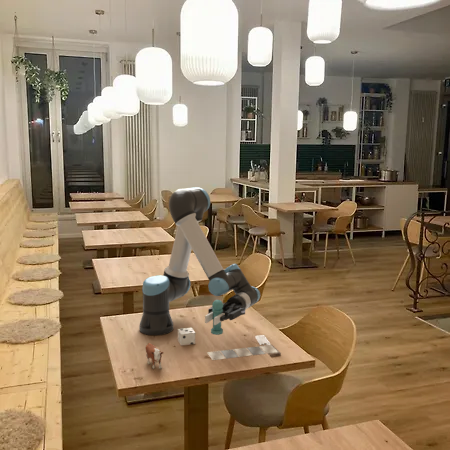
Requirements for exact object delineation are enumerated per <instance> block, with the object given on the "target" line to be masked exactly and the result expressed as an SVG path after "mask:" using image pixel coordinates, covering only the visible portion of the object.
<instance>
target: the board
mask: <svg viewBox="0 0 450 450" xmlns="http://www.w3.org/2000/svg"><path fill="white" fill-rule="evenodd" d="M206 353H207V355H208V356H209V357H210V360H212V361H218V360H225V359H227V360H228V359H234V358H243V357H251V356H258V355H266V354H267V355H269V357H271V358H272V357H279V356H282V355H281V353H282V352H280V351H279V350H278V349H277V348H276V347H275V345H273V344H271V345H266V344H264V345H259V346H258V345H257V346H251V347H250V346H249V347H242V348H232V349H224V350H216V351H215V350H214V351H208V352H206Z"/></svg>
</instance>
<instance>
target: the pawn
mask: <svg viewBox="0 0 450 450" xmlns="http://www.w3.org/2000/svg"><path fill="white" fill-rule="evenodd" d="M223 303H224V302H223V301H222V300H221V299H215V300H213V302H212V305H211V307H213V309H212V311H213V320H212V327H211V329H210V333H211V334H212V335H216V336H217V335H218V336H219V335H220V336H221V335H222V334H223V333H224V329H223V328H222V321H221V322H220V323H218V324H217V325H214V318H215V317H216V316H218V315H220V314H221V313H222V312H223V309H222V308H223Z"/></svg>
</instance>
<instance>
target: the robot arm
mask: <svg viewBox="0 0 450 450" xmlns="http://www.w3.org/2000/svg"><path fill="white" fill-rule="evenodd" d="M210 205H211V198H210V195H209V193H208V192H207V191H206V190H205V189H204V188H201V187H195V186H192V187H187V188H178V189H176V190H175V191H173V192H172V193H171V195H170V197H169V200H168V211H169V213H170V216H171V218H172V221H173V223H174V224H175V226H177V228H176V233H175V237H174V241H173V244H172V249H171V254H170V259H169V263H168V266H166V267H164V270H163V275H160V274H159V275H152V276H149V277H147V278H145V279H144V281H143V282H142V315H141V318H140V323H139V326H138V327H139V331H140V333H142V334H144V335H148V336H162V335H165V334H168V333H171V332H173V330H174V321H173V318H172V316H171V313H170V302H173V301H175V300H177V299H179V298H182V297H184V296H185V295H186V294H188V292H189V291H190V290H191V289H190V288H191V280H190V274H189V272H188V270H187V269H188V266H189V261H190V257H191V253H192V251H193V253H194V255H195V257H196V259H197V260H198V262H199V264H200V267H201V268H202V270H203V271H204V274H205V276H206V277H207V279H208V281H209V282H208V286H207V287H208V291H209V293H210V294H211V295H212V296H215V297H221V296H222V295H226V294H227V293H229V292H230V291H233V292H234V295H232V296H230V297H229V298H228V299H227V300H226V302H222V303H223V308H222V309H223V312H222V313H221V314H220V315H218V316H216V317H215V318H214V325H217V324H218V323H220V322H221V323H222V322H224V321H227V320H229V321H233V320H235V319H237V318H239V317H241V316H243V315H244V316H245V315H246V310H247V309H248V308H251V307H252V306H254V305H255V304H257V302H259V300H260V299H261V292H260V290H259V289H258V288H257V287H255V286H252V285H251V284H250V282H249V281H248V279H247V278H246V275H244V272H243V271H242V269H241V268H240V267H239V265H238V264H237V263H232V264H231V265H229V266H228V267H226V268H224V267H223V266H222V264H221V262H220V260H219V258H218V257H217V255H216V252H215V251H214V249H213V248H212V246H211V243H210V242H209V241H208V238H207V237H206V234H205V232H204V231H203V230H202V227H201V226H200V224H199V223H200V222H201V221H203V217H204V213H205V212H207V211H208V209H210ZM212 309H213V307H212V306H211V307H210V308H208V310H207V312H208V313H207V314H206V315H205V316H204V323H205V324H207V323H210V322H211V321H213V311H212Z"/></svg>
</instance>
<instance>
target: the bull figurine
mask: <svg viewBox="0 0 450 450" xmlns="http://www.w3.org/2000/svg"><path fill="white" fill-rule="evenodd" d="M145 353H146V354H145V355H146V359H147V365H151V362H152V370H155V368H156V367H155V364H159V365H158V369H159V370H162V369H163V367H162V355H164V351H161V350H160V349H159V348H158V347H156V345H154V344H152V343H150V342H148V343H147V345H145ZM150 359H151V361H150Z"/></svg>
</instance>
